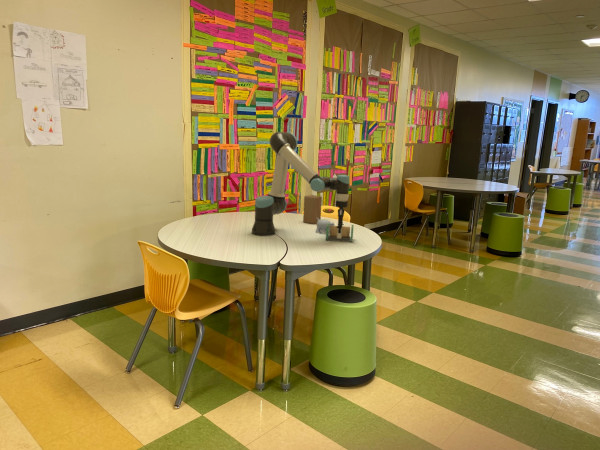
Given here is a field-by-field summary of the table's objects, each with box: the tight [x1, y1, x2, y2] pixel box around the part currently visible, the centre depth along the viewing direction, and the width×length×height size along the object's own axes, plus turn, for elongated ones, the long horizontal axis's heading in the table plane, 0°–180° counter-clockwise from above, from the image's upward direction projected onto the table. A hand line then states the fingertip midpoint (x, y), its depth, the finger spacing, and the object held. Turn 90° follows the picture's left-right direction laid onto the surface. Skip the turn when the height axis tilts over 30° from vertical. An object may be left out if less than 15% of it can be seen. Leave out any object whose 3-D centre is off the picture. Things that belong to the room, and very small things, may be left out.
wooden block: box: [302, 194, 323, 225], centre depth 318 cm, size 10×10×20 cm
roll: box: [329, 225, 351, 238], centre depth 267 cm, size 12×7×7 cm, turn 82°
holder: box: [325, 223, 355, 243], centre depth 267 cm, size 16×10×9 cm, turn 82°
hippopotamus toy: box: [315, 217, 336, 235], centre depth 286 cm, size 11×15×10 cm
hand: (339, 236), depth 268 cm, fingers closed on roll, 7 cm apart
